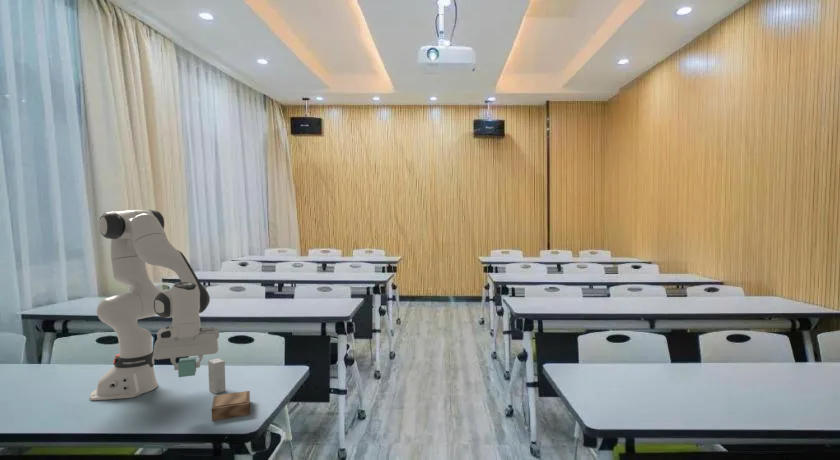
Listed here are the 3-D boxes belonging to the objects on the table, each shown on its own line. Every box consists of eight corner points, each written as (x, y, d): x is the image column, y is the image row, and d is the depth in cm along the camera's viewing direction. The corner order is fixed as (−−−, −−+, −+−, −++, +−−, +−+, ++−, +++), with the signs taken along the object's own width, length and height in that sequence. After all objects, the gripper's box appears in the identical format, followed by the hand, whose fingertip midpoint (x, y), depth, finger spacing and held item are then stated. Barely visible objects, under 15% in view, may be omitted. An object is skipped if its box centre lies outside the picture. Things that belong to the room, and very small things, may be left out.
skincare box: (226, 391, 179) (225, 361, 178) (215, 394, 175) (214, 363, 175) (219, 387, 183) (218, 357, 182) (208, 390, 180) (207, 360, 179)
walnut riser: (212, 420, 153) (211, 408, 153) (214, 406, 164) (214, 394, 164) (250, 414, 157) (249, 402, 157) (249, 401, 168) (249, 389, 168)
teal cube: (178, 377, 156) (178, 362, 156) (180, 372, 160) (180, 358, 160) (194, 375, 158) (194, 361, 157) (196, 370, 162) (195, 356, 162)
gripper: (219, 324, 165) (220, 362, 166) (155, 329, 158) (156, 369, 158) (218, 328, 159) (219, 367, 160) (151, 334, 152) (152, 375, 152)
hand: (187, 368), depth 159 cm, fingers closed on teal cube, 5 cm apart
